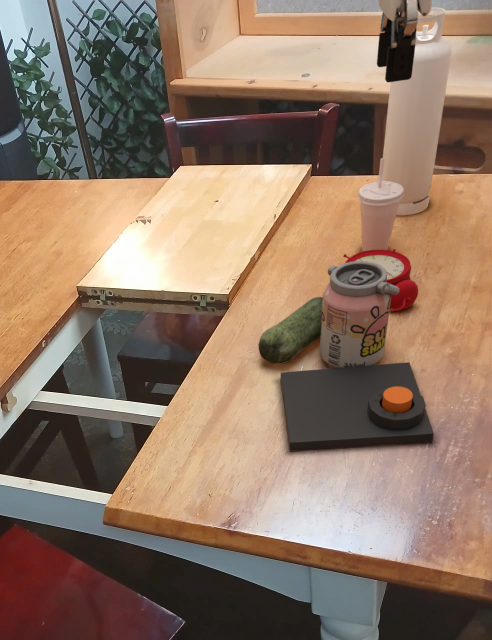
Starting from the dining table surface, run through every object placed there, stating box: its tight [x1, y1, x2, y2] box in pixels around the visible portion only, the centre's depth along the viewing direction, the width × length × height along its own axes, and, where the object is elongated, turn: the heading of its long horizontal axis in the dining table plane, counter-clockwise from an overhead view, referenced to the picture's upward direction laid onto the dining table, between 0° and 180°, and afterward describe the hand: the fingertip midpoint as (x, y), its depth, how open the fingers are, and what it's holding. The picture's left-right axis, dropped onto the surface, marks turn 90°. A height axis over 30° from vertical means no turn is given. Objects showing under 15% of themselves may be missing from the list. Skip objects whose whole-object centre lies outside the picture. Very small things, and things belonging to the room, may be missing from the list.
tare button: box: [382, 386, 413, 413], centre depth 85 cm, size 3×3×2 cm
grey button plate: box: [279, 361, 435, 452], centre depth 89 cm, size 16×14×3 cm
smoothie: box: [357, 157, 404, 252], centre depth 110 cm, size 6×6×14 cm
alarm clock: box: [343, 248, 419, 313], centre depth 105 cm, size 10×6×15 cm
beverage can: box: [319, 261, 399, 368], centre depth 93 cm, size 9×8×12 cm
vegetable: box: [258, 296, 323, 365], centre depth 99 cm, size 14×5×5 cm, turn 133°
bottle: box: [382, 6, 453, 216], centre depth 115 cm, size 8×8×28 cm
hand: (393, 71), depth 97 cm, fingers open, 5 cm apart
